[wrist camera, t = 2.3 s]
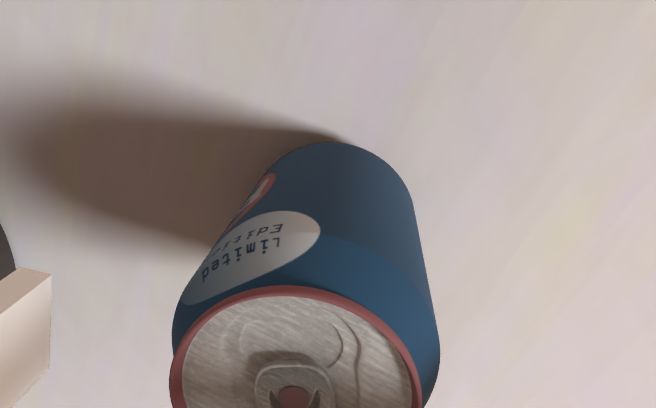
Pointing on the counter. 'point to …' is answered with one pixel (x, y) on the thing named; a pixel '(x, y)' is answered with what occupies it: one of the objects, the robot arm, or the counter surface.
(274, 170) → the soda can
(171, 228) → the counter surface
